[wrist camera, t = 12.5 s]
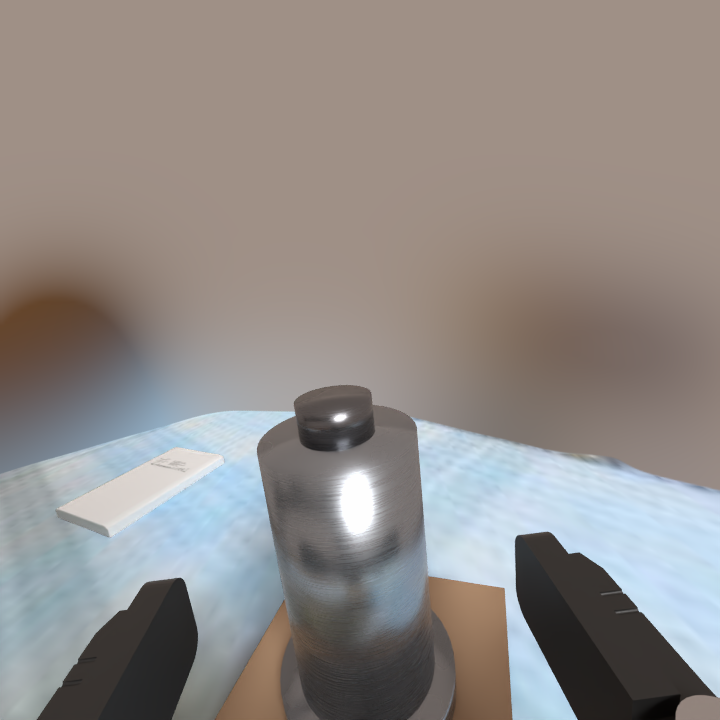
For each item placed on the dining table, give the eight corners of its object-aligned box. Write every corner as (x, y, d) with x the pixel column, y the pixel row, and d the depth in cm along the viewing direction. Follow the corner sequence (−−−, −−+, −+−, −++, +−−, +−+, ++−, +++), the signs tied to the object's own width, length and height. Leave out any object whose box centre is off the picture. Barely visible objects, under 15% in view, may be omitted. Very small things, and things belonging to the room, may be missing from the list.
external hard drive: (59, 523, 35) (176, 457, 45) (112, 544, 31) (226, 467, 41) (54, 507, 34) (173, 445, 45) (106, 526, 30) (223, 454, 41)
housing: (249, 751, 12) (172, 439, 10) (325, 591, 18) (290, 370, 16) (447, 824, 10) (418, 453, 8) (461, 617, 16) (447, 366, 14)
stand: (195, 885, 12) (166, 802, 11) (318, 616, 21) (308, 557, 21) (527, 1060, 9) (526, 962, 8) (505, 656, 18) (504, 588, 17)
